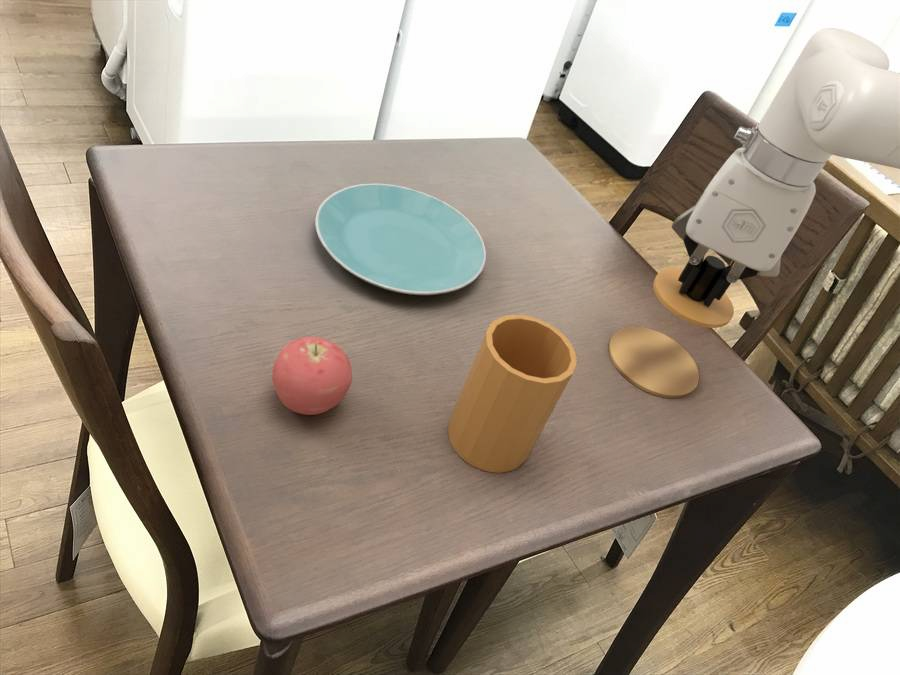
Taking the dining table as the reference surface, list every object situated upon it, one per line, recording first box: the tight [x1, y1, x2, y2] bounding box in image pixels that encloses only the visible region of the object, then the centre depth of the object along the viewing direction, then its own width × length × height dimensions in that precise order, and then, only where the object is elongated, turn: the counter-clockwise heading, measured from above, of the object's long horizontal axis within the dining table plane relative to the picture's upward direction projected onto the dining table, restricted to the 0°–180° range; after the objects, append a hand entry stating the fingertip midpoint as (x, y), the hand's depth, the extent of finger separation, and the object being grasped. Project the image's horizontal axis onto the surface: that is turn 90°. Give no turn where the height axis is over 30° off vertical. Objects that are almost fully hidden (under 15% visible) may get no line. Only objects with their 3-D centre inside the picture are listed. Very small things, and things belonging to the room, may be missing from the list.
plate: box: [314, 182, 487, 296], centre depth 98 cm, size 22×22×3 cm
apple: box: [271, 336, 353, 416], centre depth 74 cm, size 7×7×8 cm
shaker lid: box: [652, 255, 735, 329], centre depth 88 cm, size 10×10×6 cm
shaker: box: [447, 314, 578, 474], centre depth 75 cm, size 9×9×14 cm
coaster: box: [607, 326, 700, 399], centre depth 96 cm, size 12×12×1 cm
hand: (696, 293), depth 89 cm, fingers closed on shaker lid, 2 cm apart
